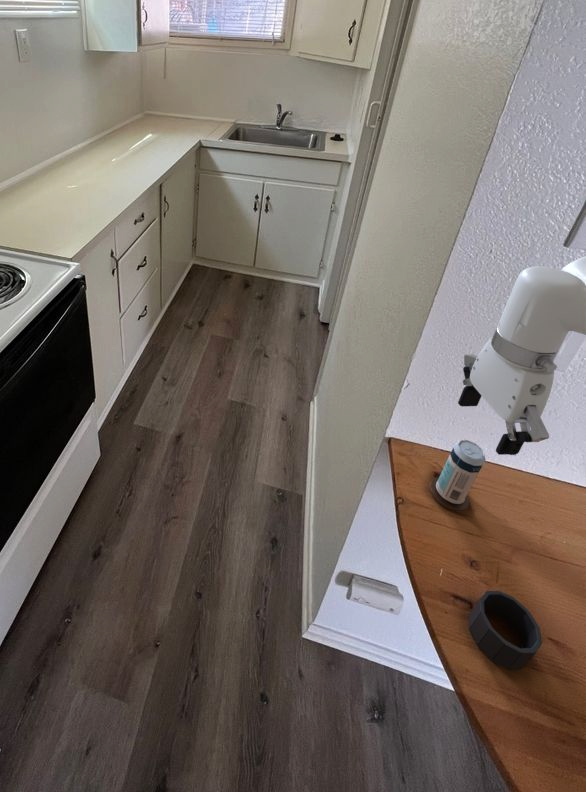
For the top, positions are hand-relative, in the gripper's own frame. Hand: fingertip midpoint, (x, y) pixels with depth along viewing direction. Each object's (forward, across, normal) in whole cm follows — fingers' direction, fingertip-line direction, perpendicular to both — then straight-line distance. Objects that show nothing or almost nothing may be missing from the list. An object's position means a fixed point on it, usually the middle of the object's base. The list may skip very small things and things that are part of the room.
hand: (485, 427), depth 71 cm
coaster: (+18, 0, +1) cm, 18 cm away
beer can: (+18, 0, +1) cm, 18 cm away
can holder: (+18, -21, +6) cm, 28 cm away
